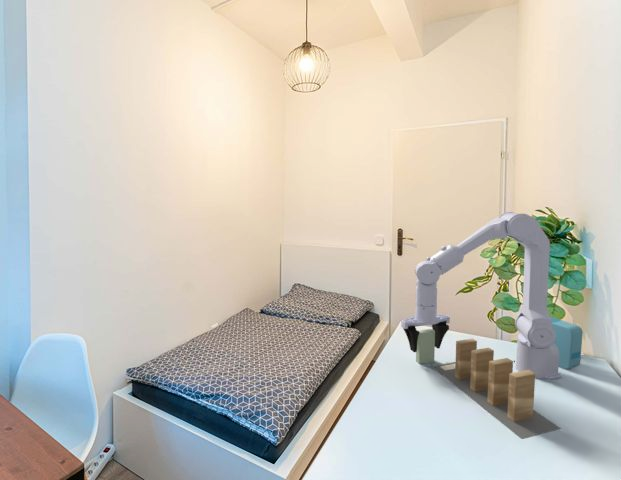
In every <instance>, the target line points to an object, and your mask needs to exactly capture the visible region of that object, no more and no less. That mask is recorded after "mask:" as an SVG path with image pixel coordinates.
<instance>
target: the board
mask: <svg viewBox="0 0 621 480" xmlns="http://www.w3.org/2000/svg"><path fill="white" fill-rule="evenodd" d="M455 364H456V361H453V362H452V361H451V362H447V363H446V362H445V363H440V364H435V365H431V367H432V368H433V370H435V371H436V372H438V373H439V374H441V376H443V377H444V378H445V379H447V380H448V381H449V382H450V383H451V384H453V385H454V386H455V387H456V388H457V389H459V390H460V391H462V393H464V394H465V395H467V396H468V397H469V398H470V399H471V400H473V401H474V402H475V403H476V404H478V405H479V406H480V407H481V408H482V409H484V410H485V411H486V412H487V413H489V414H490V415H491V416H493V417H494V418H495V419H496V420H497V421H499V422H500V423H501V424H502V425H504V426H505V427H506V428H508V429H509V430H510V431H511V432H512V433H514V434H515V435H516V436H518V437H519V438H520V439H521V440H522V439H528V438H530V437H535V436H538V435H541V434H546V433H550V432H554V431H557V430H559V431H560V430H561V429H562V428H561V427H560V426H558V425H557V424H555V423H554V422H552V421H551V420H550V419H548V418H547V417H545V416H544V415H542V414H541V413H539V412H538V411H536V410H535V409H533V418H529V419H525V420H520V421H516V422H513V421H511V420H510V419H509V418H508V417H507V412H508V403H505V404H500V405H496V406H492V405H491V404H489V403H488V402H487V400H488V390H484V391H479V392H474V391H473V390H471V389H470V380H471V378H469V379H463V380H458V379H457V378H456V377H455Z"/></svg>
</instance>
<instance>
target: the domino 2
mask: <svg viewBox="0 0 621 480" xmlns="http://www.w3.org/2000/svg"><path fill="white" fill-rule="evenodd" d="M494 352H495V351H494V349H492V348H491V347H483V348H478V349H477V350H472V352H471V380H470V389H471V390H473V391H474V392H479V391H484V390H488V377H489V361H493V360H494V355H495V354H494Z"/></svg>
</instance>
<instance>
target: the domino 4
mask: <svg viewBox="0 0 621 480" xmlns="http://www.w3.org/2000/svg"><path fill="white" fill-rule="evenodd" d="M535 383H536V378H535V373H533V372H532V371H530V370H525V371H520V372H519V371H516V372H515V371H514V372H512V373H510V374H509V393H508V412H507V417H508V418H509V419H510V420H511V421H513V422H516V421H520V420H525V419H529V418H533V410H534V401H535V385H536V384H535Z"/></svg>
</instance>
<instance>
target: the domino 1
mask: <svg viewBox="0 0 621 480" xmlns="http://www.w3.org/2000/svg"><path fill="white" fill-rule="evenodd" d="M477 344H478V340H476V339H474V338H467V339H461V340H456V341H455V362H456V364H455V377H456V378H457V379H458V380H463V379H469V378H471V352H472V350H477V348H478V347H477V346H478V345H477Z"/></svg>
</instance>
